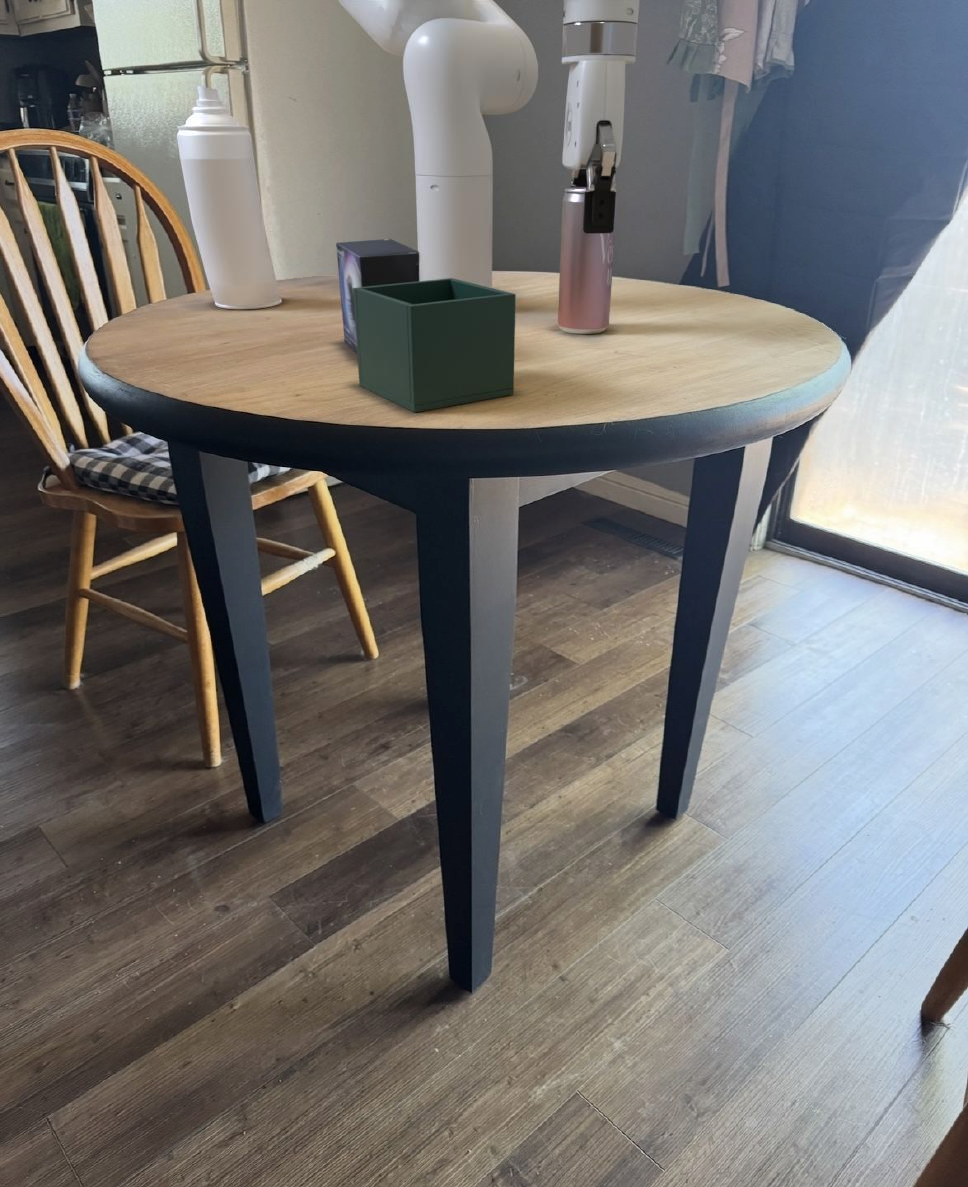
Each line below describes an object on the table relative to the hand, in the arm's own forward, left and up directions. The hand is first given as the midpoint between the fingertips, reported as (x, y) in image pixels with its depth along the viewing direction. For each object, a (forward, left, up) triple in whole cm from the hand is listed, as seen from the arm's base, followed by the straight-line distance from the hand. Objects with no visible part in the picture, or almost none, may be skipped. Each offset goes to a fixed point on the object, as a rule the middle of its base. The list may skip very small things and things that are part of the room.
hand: (590, 228), depth 97 cm
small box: (-3, -25, -11) cm, 28 cm away
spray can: (-36, -28, -11) cm, 47 cm away
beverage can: (0, 0, -11) cm, 11 cm away
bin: (+13, -28, -11) cm, 33 cm away
